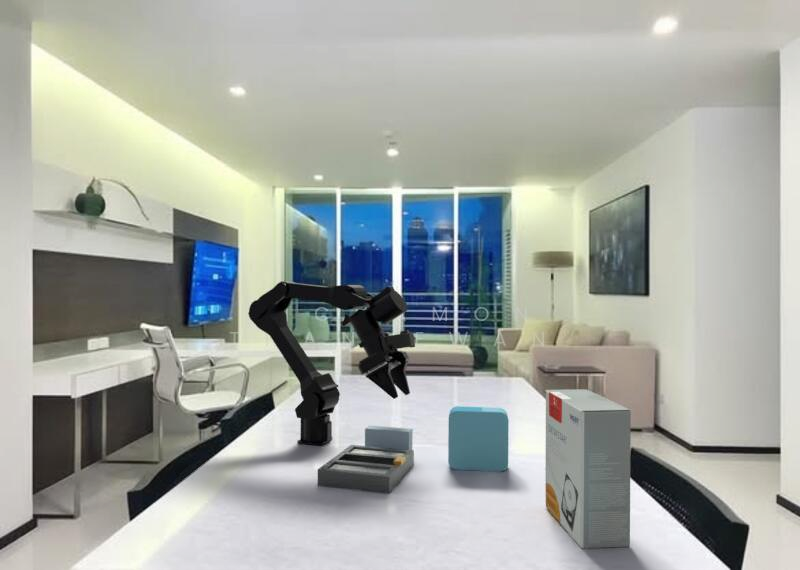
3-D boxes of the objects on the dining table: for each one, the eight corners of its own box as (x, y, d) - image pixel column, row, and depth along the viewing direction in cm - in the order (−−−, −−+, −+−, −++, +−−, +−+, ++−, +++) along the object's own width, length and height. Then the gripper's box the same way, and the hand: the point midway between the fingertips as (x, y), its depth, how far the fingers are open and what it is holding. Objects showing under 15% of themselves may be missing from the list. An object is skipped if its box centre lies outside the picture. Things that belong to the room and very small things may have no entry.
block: (364, 455, 125) (364, 428, 125) (369, 452, 128) (369, 425, 128) (408, 460, 122) (408, 432, 122) (412, 456, 125) (412, 428, 125)
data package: (507, 465, 119) (507, 407, 119) (508, 472, 114) (508, 412, 114) (449, 462, 120) (449, 405, 120) (448, 469, 116) (448, 410, 116)
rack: (317, 485, 106) (317, 466, 106) (351, 458, 122) (351, 441, 122) (390, 493, 102) (390, 473, 102) (414, 464, 118) (414, 447, 118)
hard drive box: (543, 507, 96) (544, 389, 96) (587, 506, 97) (588, 388, 97) (580, 550, 80) (581, 408, 81) (632, 548, 81) (633, 408, 81)
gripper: (387, 314, 119) (422, 381, 115) (411, 318, 137) (442, 376, 133) (343, 340, 121) (376, 406, 117) (373, 340, 139) (402, 398, 135)
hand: (402, 396), depth 126 cm, fingers open, 9 cm apart
